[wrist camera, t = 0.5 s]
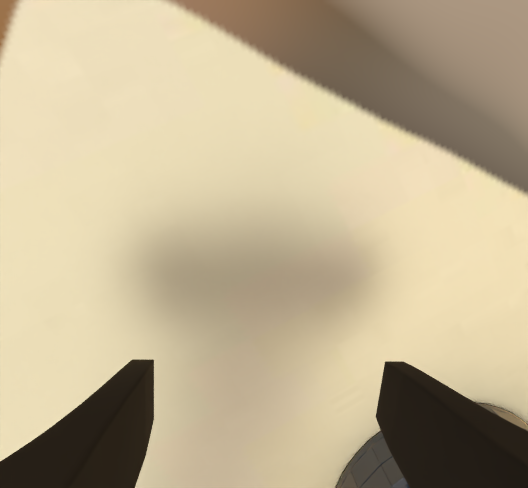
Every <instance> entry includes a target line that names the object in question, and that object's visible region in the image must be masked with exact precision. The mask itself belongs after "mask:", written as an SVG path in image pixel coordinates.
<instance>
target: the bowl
mask: <svg viewBox="0 0 528 488" xmlns="http://www.w3.org/2000/svg"><path fill="white" fill-rule="evenodd" d="M476 404H478V405H480V406H482V407H483V408H485V409H487V410H489V411H491V412H493V413H494V414H496V415H498V416H500V417H502V418H504V419H505V420H507V421H509V422H511V423H513V424H515V425H517V426H519V427H521V428H523V429H525V430H527V431H528V424H526V423H525V422H524V421H523V420H522V419H520V418H519V417H517V416H515V415H514V414H512V413H510V412H508V411H506V410H503V409H501V408H498V407H495V406H491V405H487V404H481V403H476ZM336 488H410V487H409V485H408V483H407V482H406V480H405V478H404V476H403V474H402V473H401V471H400V469H399V467H398V465H397V463H396V462H395V460H394V458H393V456H392V454H391V452H390V450H389V448H388V446H387V444H386V441H385V439H384V436H383V434H382V431H380V432H379V433H378V434H377V435H375V436H374V437H373V438H372V439H370V440H369V441H368V442H367V443H366V444H365V445H364V446H363V447H362V448H361V449H360V450H359V451H358V452H357V454H356V455H355V456H354V457H353V459H352V460H351V461H350V462H349V464H348V466H347V467H346V469H345V470H344V472H343V474H342V475H341V478H340V480H339V482H338V484H337V487H336Z"/></svg>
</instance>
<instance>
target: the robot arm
mask: <svg viewBox="0 0 528 488" xmlns="http://www.w3.org/2000/svg"><path fill="white" fill-rule="evenodd" d="M376 418H377V421H378V424H379V426H380V429H381V431H382V434H383V436H384V439H385V441H386V444H387V446H388V448H389V450H390V452H391V454H392V456H393V458H394V460H395V462H396V463H397V465H398V467H399V469H400V471H401V473H402V474H403V476H404V478H405V480H406V482H407V483H408V485H409V487H410V488H528V431H527V430H525V429H523V428H521V427H519V426H517V425H515V424H513V423H511V422H509V421H507V420H505V419H504V418H502V417H500V416H498V415H496V414H494V413H493V412H491V411H489V410H487V409H485V408H483V407H482V406H480V405H478V404H476V403H475V402H473V401H471V400H470V399H468V398H466V397H464V396H463V395H461V394H459V393H458V392H456V391H454V390H453V389H451V388H449V387H448V386H446V385H444V384H442V383H441V382H439V381H437V380H436V379H434V378H432V377H431V376H429V375H427V374H426V373H424V372H422V371H420V370H419V369H417V368H415V367H413V366H411V365H409V364H407V363H405V362H385V366H384V372H383V378H382V384H381V390H380V395H379V401H378V407H377V413H376ZM153 420H154V360H131V361H130V362H129V363H128V364H127V365H125V366H124V367H123V368H122V369H121V370H120V371H119V372H118V373H116V374H115V375H114V376H113V377H112V378H111V379H110V380H109V381H107V382H106V383H105V384H104V385H103V386H102V387H101V388H99V389H98V390H97V391H96V392H95V393H94V394H92V395H91V396H90V397H89V398H88V399H86V400H85V401H84V402H83V403H82V404H81V405H79V406H78V407H77V408H75V409H74V410H73V411H72V412H70V413H69V414H68V415H66V416H65V417H64V418H63V419H61V420H60V421H59V422H57V423H56V424H55V425H54V426H52V427H51V428H49V429H48V430H47V431H45V432H44V433H43V434H41V435H40V436H38V437H37V438H35V439H34V440H33V441H31V442H30V443H28V444H27V445H25V446H24V447H22V448H21V449H19V450H17V451H16V452H14V453H13V454H11V455H10V456H8V457H7V458H5V459H4V460H2V461H0V488H135V485H136V482H137V479H138V476H139V473H140V470H141V467H142V465H143V461H144V458H145V455H146V451H147V447H148V443H149V438H150V434H151V429H152V425H153Z"/></svg>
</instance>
